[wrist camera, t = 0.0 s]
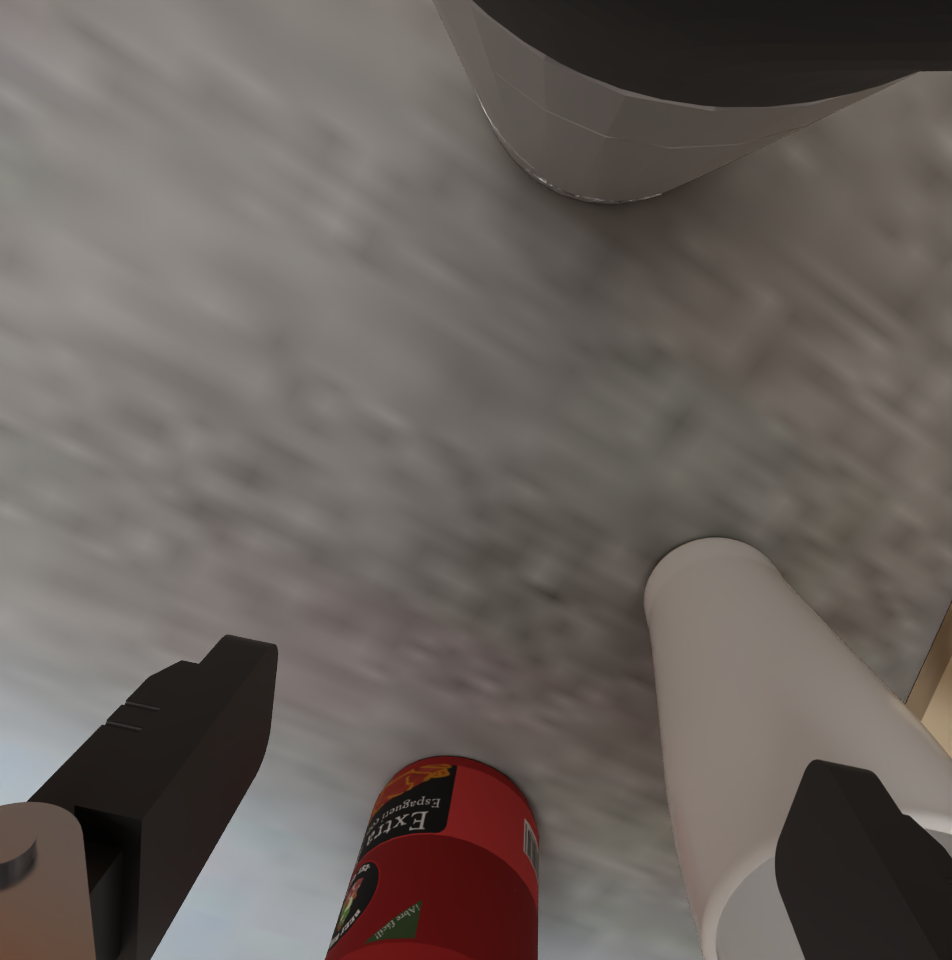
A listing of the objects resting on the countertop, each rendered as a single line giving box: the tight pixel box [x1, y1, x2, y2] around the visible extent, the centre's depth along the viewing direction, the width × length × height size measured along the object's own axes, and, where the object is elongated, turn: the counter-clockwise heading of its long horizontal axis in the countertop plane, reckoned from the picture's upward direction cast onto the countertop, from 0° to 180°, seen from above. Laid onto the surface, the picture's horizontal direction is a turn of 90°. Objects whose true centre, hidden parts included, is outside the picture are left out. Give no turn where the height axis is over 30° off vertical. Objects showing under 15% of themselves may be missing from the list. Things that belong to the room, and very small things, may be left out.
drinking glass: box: [644, 537, 952, 960], centre depth 21 cm, size 7×7×15 cm
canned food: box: [325, 756, 539, 960], centre depth 28 cm, size 8×8×11 cm
